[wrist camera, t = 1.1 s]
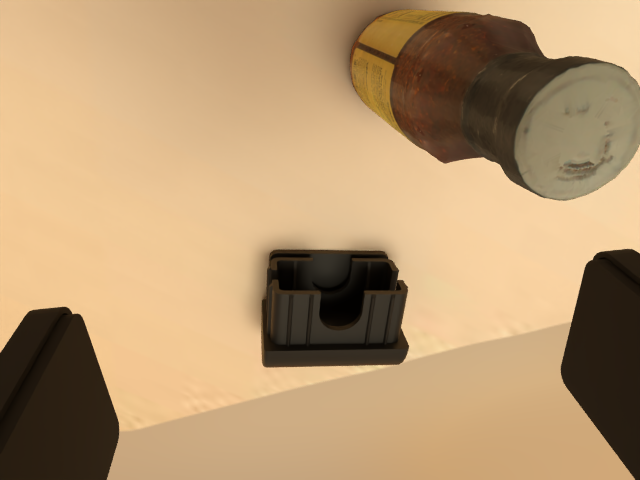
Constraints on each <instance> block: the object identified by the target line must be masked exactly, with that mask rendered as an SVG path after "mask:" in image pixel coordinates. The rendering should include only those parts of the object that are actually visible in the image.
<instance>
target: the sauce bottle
mask: <svg viewBox="0 0 640 480" xmlns="http://www.w3.org/2000/svg"><path fill="white" fill-rule="evenodd" d="M350 70H351V76H352V82H353V86H354V88H355V90H356V92H357V93H358V95H359V96H360V98H361V99H362V101H363V102H364V103H365V104H366V105H367V106H368V107H369V108H370V109H371V110H372V111H374V112H375V113H376V114H377V115H379V116H380V117H381V118H382V119H384V120H385V121H386V122H387V123H388V124H389V125H391V126H392V127H393V128H394V129H396V130H397V131H398V132H399V133H401V134H402V135H403V136H405V137H406V138H407V139H408V140H409V141H411V142H412V143H413V144H415V145H416V146H418V147H419V148H421V149H424V150H426V151H427V152H428V153H430V154H431V155H432V156H434V157H435V158H437V159H438V160H439V161H441V162H443V163H449V162H453V161H458V160H463V159H470V158H481V157H484V158H486V159H487V160H490V161H492V162H496V163H498V164H500V165H501V167H502V169H503V171H504V173H505V174H506V175H507V177H508V178H509V179H510V180H511V181H513V182H514V183H516V184H517V185H520V186H521V187H523V188H525V189H527V190H529V191H531V192H533V193H535V194H537V195H538V196H540V197H543V198H550V199H554V200H571V199H575V198H578V197H581V196H584V195H587V194H589V193H591V192H593V191H595V190H597V189H599V188H601V187H602V186H604V185H605V184H606V183H608V182H610V181H611V180H613V179H614V178H616V176H617V175H618V174H619V173H620V172H621V171H622V170H623V169H624V168H625V167H626V166H627V165H628V164H629V162H630V161H631V159H632V158H633V157H634V155H635V153H636V151H637V149H638V147H639V145H640V87H639V85H638V83H637V81H636V80H635V79H634V78H633V77H631V76H630V74H629V73H628V72H627V71H626V70H625V69H624V68H622V67H620V66H617V65H615V64H612V63H608V62H604V61H600V60H597V59H592V58H588V57H579V56H574V57H572V56H568V57H565V58H559V59H548V58H547V57H545V56H544V55H543V53H542V52H541V50H540V48H539V46H538V44H537V42H536V40H535V36H534V34H533V33H532V31H531V29H530V27H528V26H527V25H525V24H524V23H522V22H520V21H516V20H511V19H506V18H501V17H498V16H492V15H490V14H487V15H480V14H477V13H470V12H453V11H452V12H447V11H424V10H409V9H407V10H399V11H394V12H391V13H388V14H385V15H382V16H379V17H377V18H376V19H375V20H374V21H373V22H372V23H371V24H369V25H368V26H367V27H366V29H365V30H364V31H363V32H362V34H361V35H360V36H359V38H358V39H357V40H356V42H355V44H354V45H353V48H352V52H351V57H350Z"/></svg>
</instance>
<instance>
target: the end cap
mask: <svg viewBox="0 0 640 480" xmlns="http://www.w3.org/2000/svg"><path fill="white" fill-rule="evenodd" d="M398 272H399V270H398V268H397V267H396V266H395V264H394V262H393V261H391V260H389V259H388V257H387V255H386V253H385V252H382V251H331V250H275V251H273V252H272V253H271V254H270V259H269V268H268V270H267V296H266V299H264V300H262V323H261V344H262V364H263V366H264V367H312V366H358V365H398V364H400V363H402V362H403V361H404V359H405V358H406V355H407V353H408V349H409V345H408V343H407V341H406V338H405V336H404V334H403V331H402V329H401V324H402V319H403V314H404V308H405V303H406V298H407V293H408V289H407V288H408V287H407V286H406V284H405V283H404V281H403V280H397V278H398ZM396 284H397V285H396ZM395 289H396V290H395Z"/></svg>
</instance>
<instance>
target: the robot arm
mask: <svg viewBox="0 0 640 480" xmlns="http://www.w3.org/2000/svg"><path fill="white" fill-rule="evenodd" d="M561 375H562V379H563V382H564V384H565V386H566V387H567V389H568V390H569V391H570V393H571V394H572V395H573V396H574V398H575V399H576V401H577V402H578V403H579V405H580V406H581V407H582V408H583V410H584V411H585V413H586V414H587V415H588V417H589V418H590V419H591V421H592V422H593V423H594V425H595V426H596V427H597V429H598V430H599V431H600V433H601V434H602V435H603V437H604V438H605V439H606V441H607V442H608V443H609V445H610V446H611V447H612V449H613V450H614V451H615V453H616V454H617V455H618V457H619V458H620V460H621V461H622V462H623V464H624V465H625V466H626V468H627V469H628V470H629V471H630V473H631V474H632V476H633V477H634V478H635V480H640V254H639V253H638V252H637V251H635V250H633V249H623V250H613V251H604V252H599V253H597V254H596V255H595V256H594V258H593V260H591V261H589V262H588V263H587V264H586V267H585V270H584V274H583V278H582V282H581V286H580V290H579V295H578V299H577V303H576V307H575V311H574V315H573V319H572V323H571V327H570V332H569V336H568V340H567V344H566V348H565V352H564V356H563V360H562V364H561ZM118 438H119V422H118V419H117V416H116V413H115V410H114V407H113V404H112V401H111V398H110V395H109V392H108V389H107V387H106V384H105V381H104V378H103V375H102V372H101V369H100V366H99V363H98V360H97V358H96V355H95V352H94V349H93V346H92V343H91V340H90V337H89V334H88V331H87V329H86V326H85V323H84V320H83V318H82V316H81V315H80V314H72V312H71V311H70V309H69V308H67V307H57V308H48V309H38V310H32V311H29V312H28V313H27V314H26V316H25V317H24V319H23V320H22V322H21V323H20V325H19V326H18V328H17V329H16V331H15V332H14V333H13V335H12V336H11V338H10V339H9V341H8V342H7V344H6V345H5V347H4V348H3V350H2V351H1V353H0V480H107V477H108V473H109V470H110V466H111V463H112V460H113V456H114V453H115V449H116V446H117V443H118Z"/></svg>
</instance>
